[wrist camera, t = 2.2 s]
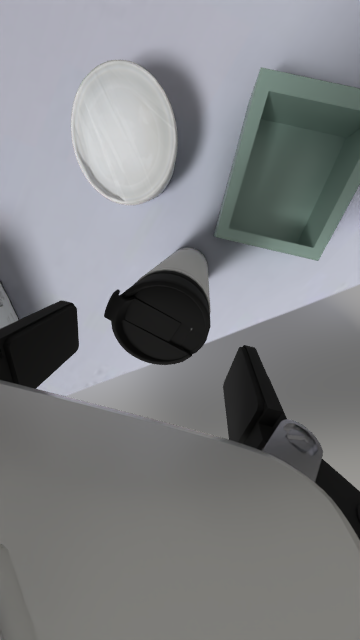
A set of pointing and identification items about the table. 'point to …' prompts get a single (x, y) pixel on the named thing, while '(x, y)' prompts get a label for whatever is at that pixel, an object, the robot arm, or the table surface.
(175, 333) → the travel mug
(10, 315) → the hard drive box
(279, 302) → the table surface
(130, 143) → the ramekin
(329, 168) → the tray
